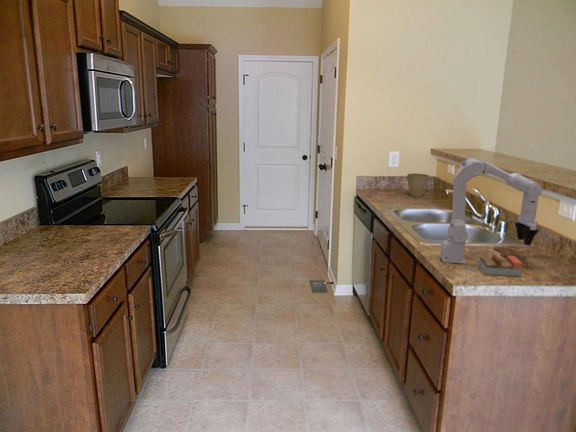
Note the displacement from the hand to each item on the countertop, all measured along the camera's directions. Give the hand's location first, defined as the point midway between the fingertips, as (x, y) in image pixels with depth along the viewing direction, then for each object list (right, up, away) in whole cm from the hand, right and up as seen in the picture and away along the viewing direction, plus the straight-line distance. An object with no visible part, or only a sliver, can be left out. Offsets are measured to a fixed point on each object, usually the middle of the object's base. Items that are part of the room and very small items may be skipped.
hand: (523, 242), depth 191 cm
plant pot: (-5, +25, +144) cm, 146 cm away
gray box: (-13, -12, -7) cm, 19 cm away
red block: (-8, -9, -8) cm, 15 cm away
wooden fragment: (+2, -7, +14) cm, 16 cm away
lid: (-15, -8, -7) cm, 19 cm away
